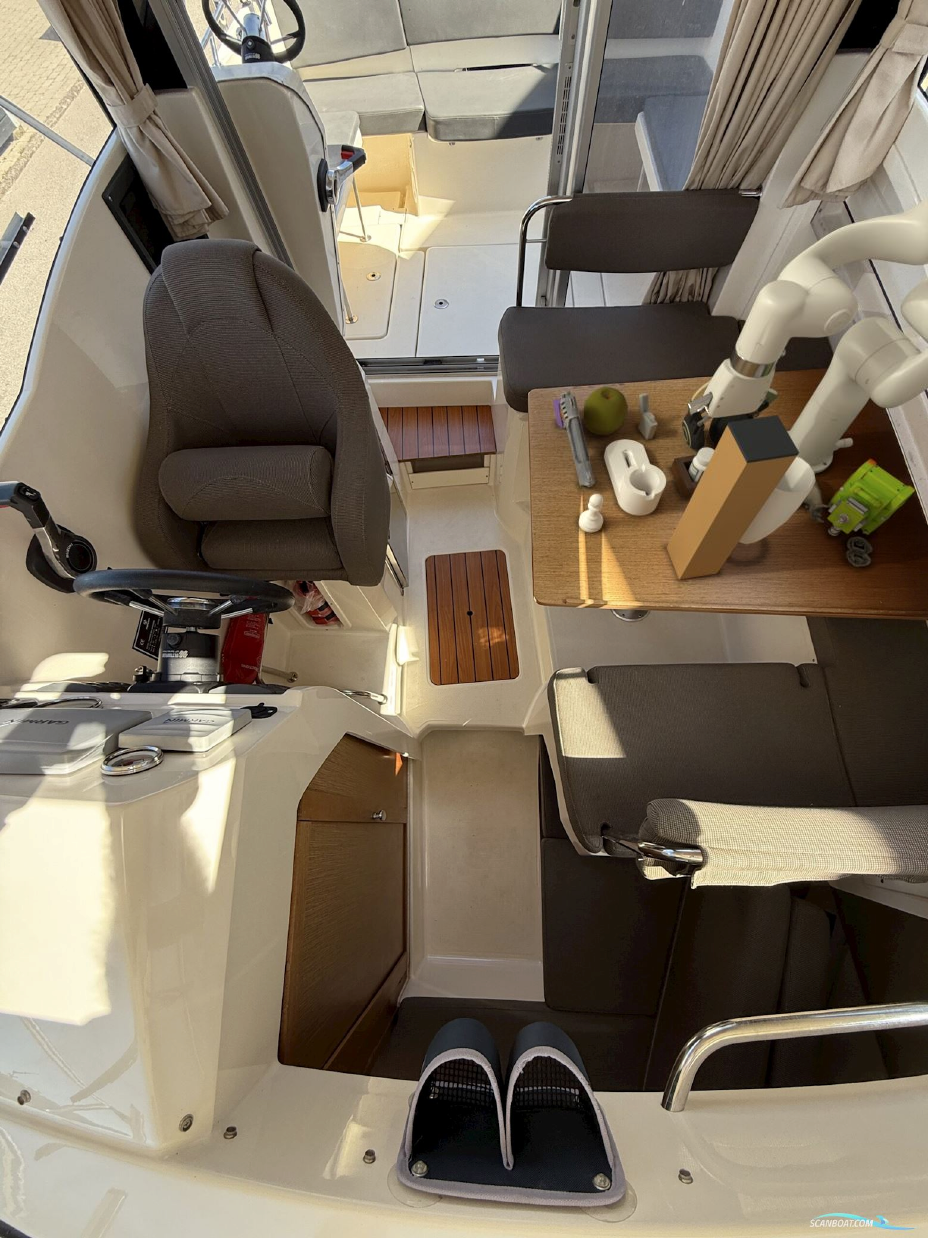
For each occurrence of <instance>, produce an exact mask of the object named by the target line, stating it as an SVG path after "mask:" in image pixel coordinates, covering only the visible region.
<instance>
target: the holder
mask: <svg viewBox="0 0 928 1238" xmlns="http://www.w3.org/2000/svg"><path fill="white" fill-rule="evenodd" d="M696 455H697V454H692V455H687V456H680V457H679V456H678V457H674V459H673V461H672V463H671V466H670V468H669V470H670V472H671V474H672V476H673V479H674V481H675V484H676V486H677V488H678V490H679V493H680V495H681V498H682V499H683V500H684V499H685V500H686V499H691V497H692V495H693V493H694V491H695V489H696V487H697V485H698V483H699V481H698V482H692V481H691V479H690V476H689V474H688V470H689V468H690V466H691V463H692V461H693V459H694V457H695V456H696Z"/></svg>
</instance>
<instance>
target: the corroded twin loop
mask: <svg viewBox="0 0 928 1238" xmlns="http://www.w3.org/2000/svg"><path fill="white" fill-rule="evenodd" d="M854 545H855V546H854ZM846 546H847V549H848V550H846V556H845V557H846V558H847V561H848V562H849V563H850V564H851V565H853V566H854V567H856V568H859V567H866V566H869V565H870V564H871V563H872V562H871V561H872V559H871V557H870V556H869V555H870V554H871V553H872V552H873V551H874V548H873V547H872V545H871V543H870V541H868V540H867V539H866V538H864V537H862V536H860V535H859V536H852V537H850V538H849V539H848V540H847V543H846ZM859 547H863V548H864V549H863V548H859Z"/></svg>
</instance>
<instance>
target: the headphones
mask: <svg viewBox="0 0 928 1238" xmlns="http://www.w3.org/2000/svg"><path fill="white" fill-rule="evenodd" d="M710 381H711V379H709V381H707V382H706V383H705V384H703V385H702V386H701V387H700V388H698V390H697V391H695V393H694V394H693V396H692V397H691V399H690V401H689V403H690V402H692V401H694V400H696V399H697V397H698V395H699V394H700V393H701V392H703V390H704V389H705V388H707V387H708V385H709V383H710ZM740 415H741V414H739V415H733V416H725V417H717V418H714V417H712V418H711V421H710V424H709V428H708V436H709V440H710V442H711V443H712V444H713V445H714V446H716V447H717V445H718V443H719V441H720V439H721V437H722V435H723V433H724V431H725V429H726V427H727V425H728V423H729V422H735V421H738V419H739V417H740ZM692 423H693V419H692V418H691V416H690V414H689V410H688V409H687V413H686V414H685V415H684V417H683V420H682V421H681V431H682V435H683V438H684V441H685V444H686V445H687V447H688V448H690V449H691V450H693V451H699V450H700V449H702V448H705V445H706V432H705V429H704V430H703V432H702V434H701V436H700V439H699V440H698V441H695V440H694V438H693V436H692V435H691V434H690V427H691V425H692Z"/></svg>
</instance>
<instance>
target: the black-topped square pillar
mask: <svg viewBox="0 0 928 1238" xmlns="http://www.w3.org/2000/svg"><path fill="white" fill-rule="evenodd" d="M787 431H788V430H787V429H786V427H785V426H784V424H783V422H782V420H781V418H780V417H779V415H778V414H775V415H768V416H763V417H756V418H754V419H748V420H741V421H735V422H729V423H728V425H727V427H726V429H725V431H724V433H723V435H722V437H721V439H720V441H719V443H718V445H717V446H716V447H715V449H714V450H715V451H714V453H713V455H712V457H711V459H710V461H709V463H708V465H707V467H706V469H705V471H704V473H703V475H702V477H701V479H700V481H699V483H698V485H697V487H696V489H695V491H694V493H693V495H692V497H691V498H689V499H690V500H689V502H688V503H687V506H686V507H685V510H684V511H683V514H682V515H681V518H680V520H679V521H678V524H677V526H676V528H675V530H674V532H673V534H672V536H671V538H670V540H669V541H668V544H667V546H666V550H667V552H668V555H669V557H670V559H671V563H672V565H673V567H674V570H675V572H676V575H677V578H678V579H679V580H684V579H685V580H686V579H690V578H697V577H705V576H710V575H715V574H718V572H719V571H720V570H721V568H722V567H723V566H724V564H725V563H726V561H727V560H728V558H729V557H730V555H731V554H732V553H733V551H734V549H735V548H736V546H737V545H738V544H739V543H740V542H739V540H740V539H741V537H742V536H743V535H744V533H745V532H746V530H747V529H748V527H749V526H750V524H751V523H752V521H753V520H754V518H755V517H756V515H757V514H758V513H759V511H760V510H761V508H762V507H763V505H764V504H765V502H766V501H767V499H768V498H769V496H770V495H771V494H772V492H773V491H774V489H775V488H776V486H777V485H778V483H779V482H780V480H781V479H782V477H783V476H784V474H785V473H786V472H787V470H788V469H789V467H790V466H791V464H792V463H793V461H794V460H795V458H796V457H797V455H798V454H799V451H798V449H797V448H796V446H795V444H794V442H793V441H792V439H791V437H790V436H789V434H788V432H787Z"/></svg>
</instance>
